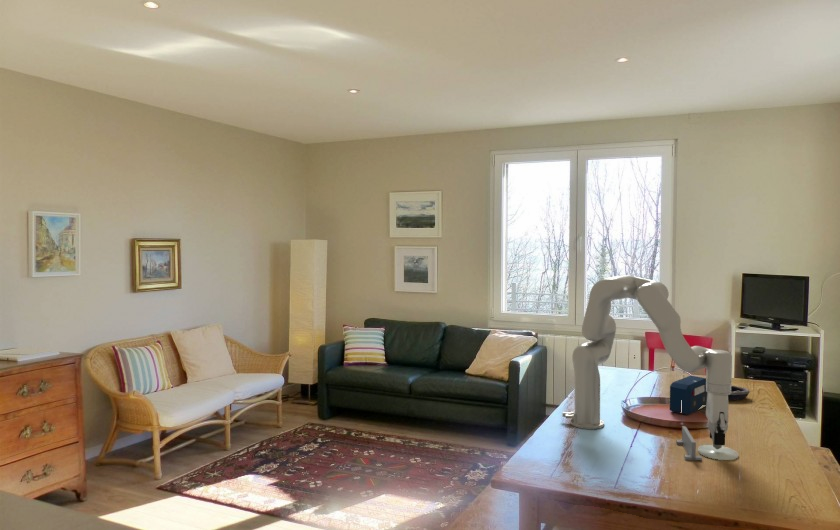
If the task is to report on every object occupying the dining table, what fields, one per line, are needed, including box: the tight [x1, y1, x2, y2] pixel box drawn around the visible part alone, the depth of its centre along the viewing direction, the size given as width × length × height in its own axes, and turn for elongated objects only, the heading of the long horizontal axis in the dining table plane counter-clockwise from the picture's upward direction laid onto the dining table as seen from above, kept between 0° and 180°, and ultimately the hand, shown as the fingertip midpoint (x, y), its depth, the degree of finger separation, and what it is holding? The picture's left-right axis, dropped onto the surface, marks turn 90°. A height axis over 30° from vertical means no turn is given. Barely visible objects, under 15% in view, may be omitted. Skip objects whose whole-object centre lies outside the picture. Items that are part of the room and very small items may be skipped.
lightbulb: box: [706, 419, 729, 449], centre depth 196 cm, size 6×6×11 cm
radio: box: [669, 375, 708, 416], centre depth 244 cm, size 21×9×20 cm, turn 131°
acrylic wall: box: [675, 425, 703, 462], centre depth 198 cm, size 5×16×6 cm, turn 166°
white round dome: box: [697, 444, 739, 461], centre depth 196 cm, size 12×12×1 cm
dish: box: [728, 385, 751, 401], centre depth 263 cm, size 16×31×5 cm, turn 73°
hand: (717, 441), depth 196 cm, fingers open, 5 cm apart
